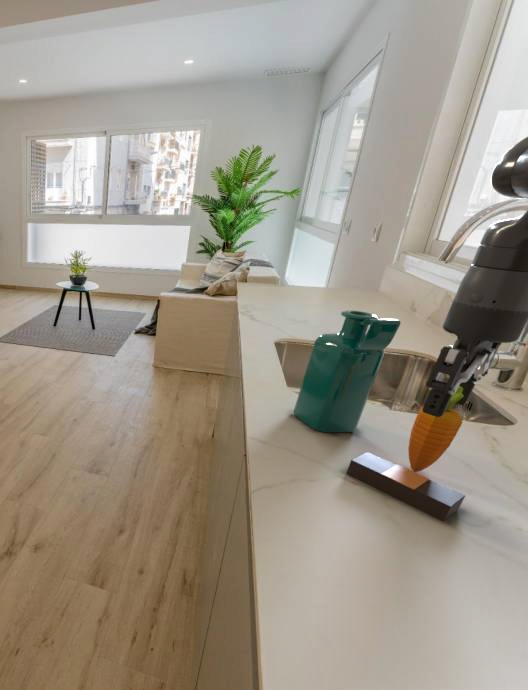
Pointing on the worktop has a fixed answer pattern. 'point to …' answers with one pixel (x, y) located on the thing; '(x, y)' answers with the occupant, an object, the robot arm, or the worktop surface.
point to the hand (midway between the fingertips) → (443, 408)
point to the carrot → (433, 434)
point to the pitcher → (343, 372)
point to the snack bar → (406, 485)
